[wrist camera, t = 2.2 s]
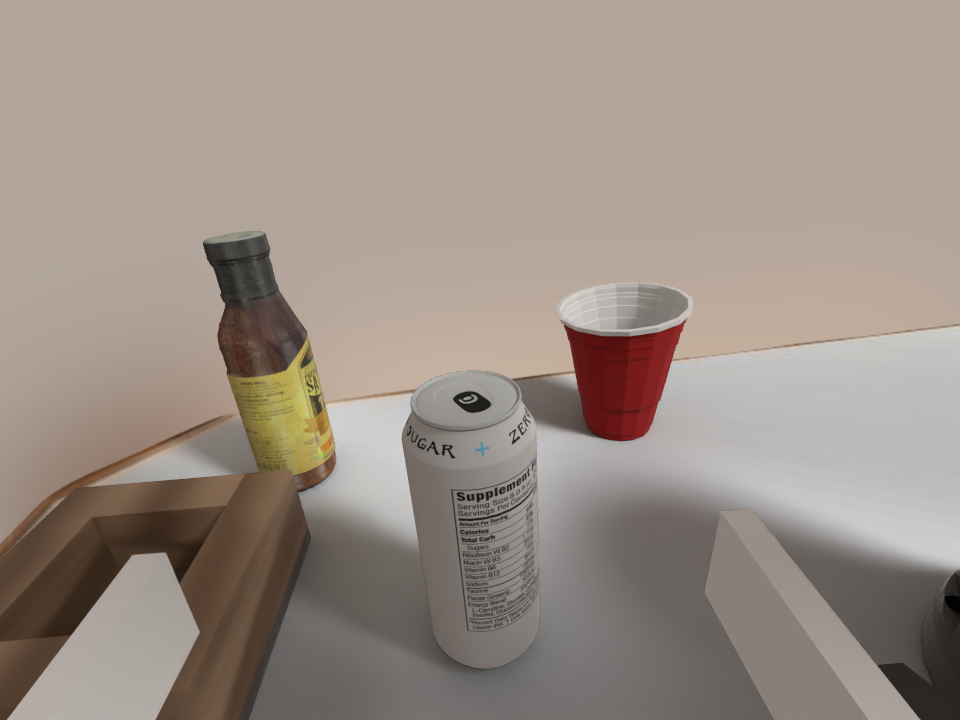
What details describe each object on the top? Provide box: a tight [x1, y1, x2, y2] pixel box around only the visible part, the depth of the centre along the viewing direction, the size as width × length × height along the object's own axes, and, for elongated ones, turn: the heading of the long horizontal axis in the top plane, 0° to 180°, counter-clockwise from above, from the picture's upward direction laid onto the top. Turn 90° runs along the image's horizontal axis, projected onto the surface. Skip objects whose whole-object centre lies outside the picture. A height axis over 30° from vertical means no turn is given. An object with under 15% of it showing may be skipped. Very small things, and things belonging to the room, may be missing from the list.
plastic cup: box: [555, 282, 693, 441], centre depth 43 cm, size 11×11×12 cm
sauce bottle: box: [203, 231, 336, 491], centre depth 38 cm, size 7×6×20 cm
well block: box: [0, 470, 311, 720], centre depth 27 cm, size 14×14×6 cm
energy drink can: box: [402, 370, 540, 669], centre depth 25 cm, size 6×6×15 cm
